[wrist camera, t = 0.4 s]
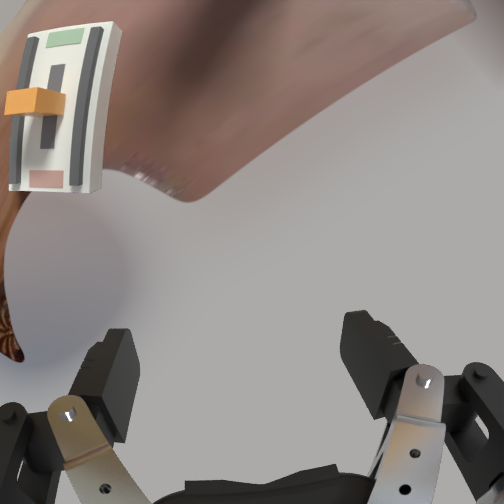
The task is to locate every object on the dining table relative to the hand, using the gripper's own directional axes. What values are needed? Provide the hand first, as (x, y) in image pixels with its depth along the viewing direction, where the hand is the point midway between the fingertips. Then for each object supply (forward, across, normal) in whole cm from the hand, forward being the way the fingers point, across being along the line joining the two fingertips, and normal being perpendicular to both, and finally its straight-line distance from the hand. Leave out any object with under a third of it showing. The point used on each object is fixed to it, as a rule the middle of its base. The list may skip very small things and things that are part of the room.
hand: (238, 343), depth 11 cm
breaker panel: (+28, +19, -14) cm, 36 cm away
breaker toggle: (+23, +19, -14) cm, 33 cm away
